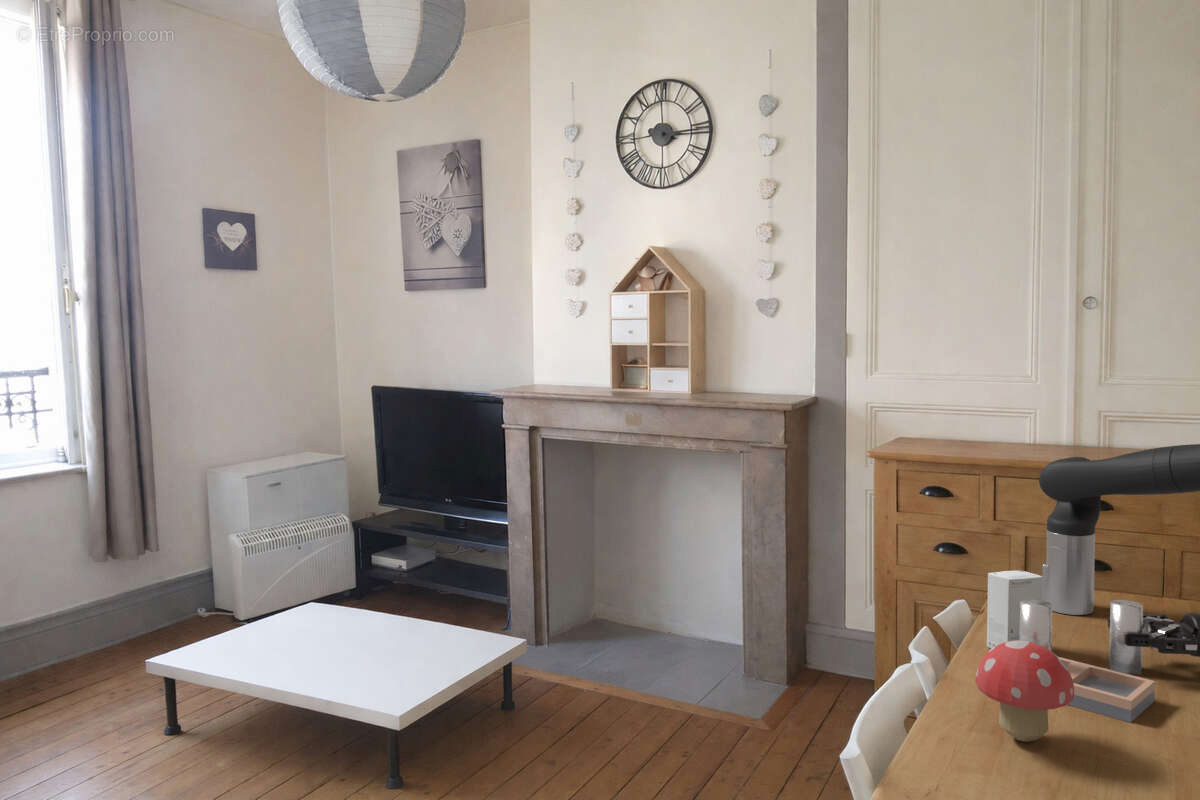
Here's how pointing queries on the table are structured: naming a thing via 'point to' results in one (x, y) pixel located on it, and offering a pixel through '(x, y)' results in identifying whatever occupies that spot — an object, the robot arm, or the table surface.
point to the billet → (1123, 621)
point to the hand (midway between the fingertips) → (1116, 630)
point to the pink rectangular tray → (1109, 691)
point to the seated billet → (1036, 622)
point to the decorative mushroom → (1024, 686)
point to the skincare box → (1009, 603)
